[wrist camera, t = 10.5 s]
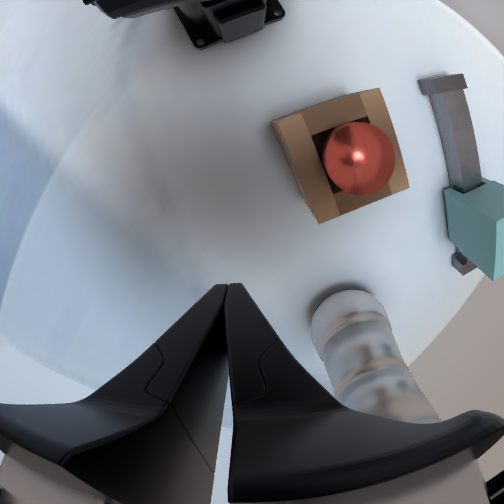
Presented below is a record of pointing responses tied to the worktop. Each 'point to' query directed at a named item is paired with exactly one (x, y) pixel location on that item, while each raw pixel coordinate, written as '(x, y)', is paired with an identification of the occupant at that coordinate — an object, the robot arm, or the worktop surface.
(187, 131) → the worktop surface
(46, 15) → the worktop surface
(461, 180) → the rail
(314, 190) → the brown button housing
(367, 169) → the button
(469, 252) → the carriage
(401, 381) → the plastic bottle
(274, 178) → the worktop surface
